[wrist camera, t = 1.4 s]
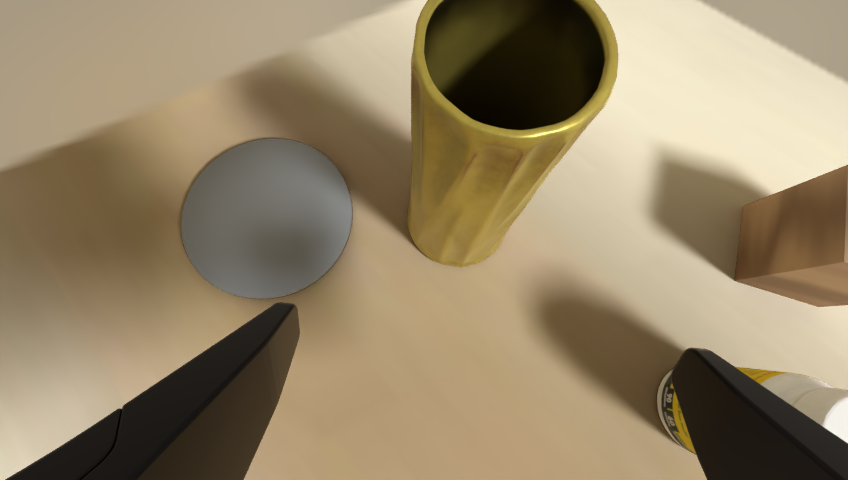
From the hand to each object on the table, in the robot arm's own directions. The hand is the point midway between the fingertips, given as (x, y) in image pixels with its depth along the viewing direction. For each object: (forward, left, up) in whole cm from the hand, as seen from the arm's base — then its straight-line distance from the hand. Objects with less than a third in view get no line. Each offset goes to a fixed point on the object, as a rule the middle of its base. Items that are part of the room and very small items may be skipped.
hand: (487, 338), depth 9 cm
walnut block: (+17, -13, -13) cm, 25 cm away
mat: (-1, +13, -13) cm, 18 cm away
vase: (+6, +4, -13) cm, 15 cm away
